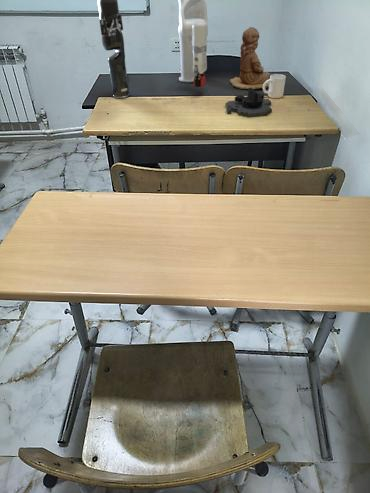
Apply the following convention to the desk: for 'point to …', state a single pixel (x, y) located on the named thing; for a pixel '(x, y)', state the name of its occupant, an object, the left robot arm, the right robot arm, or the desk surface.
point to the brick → (201, 81)
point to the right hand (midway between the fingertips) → (199, 84)
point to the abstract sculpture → (249, 104)
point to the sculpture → (250, 63)
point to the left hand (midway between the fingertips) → (114, 44)
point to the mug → (275, 86)
